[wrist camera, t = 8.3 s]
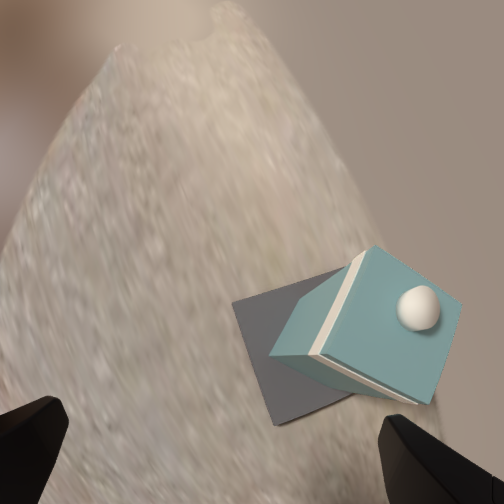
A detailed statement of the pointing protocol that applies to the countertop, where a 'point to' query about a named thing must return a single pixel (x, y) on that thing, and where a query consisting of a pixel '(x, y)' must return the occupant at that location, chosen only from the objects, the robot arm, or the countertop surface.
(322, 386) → the mat
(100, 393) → the countertop surface
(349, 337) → the carton
